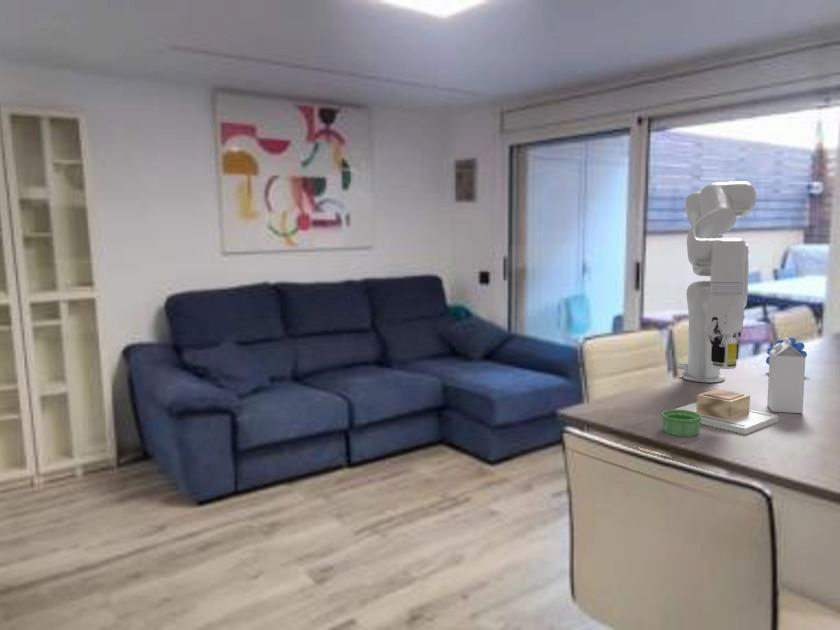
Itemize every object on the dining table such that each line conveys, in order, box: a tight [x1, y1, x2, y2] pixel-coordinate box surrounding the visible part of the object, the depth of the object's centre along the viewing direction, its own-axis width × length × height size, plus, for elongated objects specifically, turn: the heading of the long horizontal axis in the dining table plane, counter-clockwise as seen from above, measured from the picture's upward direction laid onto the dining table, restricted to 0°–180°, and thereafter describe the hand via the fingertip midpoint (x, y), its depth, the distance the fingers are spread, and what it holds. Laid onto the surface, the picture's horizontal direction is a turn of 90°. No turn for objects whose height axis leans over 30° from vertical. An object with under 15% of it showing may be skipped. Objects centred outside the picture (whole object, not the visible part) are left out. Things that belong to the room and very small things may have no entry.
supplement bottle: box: [713, 332, 737, 370], centre depth 161 cm, size 5×5×10 cm
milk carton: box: [767, 336, 806, 414], centre depth 169 cm, size 7×7×19 cm
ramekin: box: [660, 408, 702, 437], centre depth 154 cm, size 9×9×4 cm
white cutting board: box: [675, 401, 779, 435], centre depth 163 cm, size 20×16×2 cm
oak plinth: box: [696, 388, 751, 420], centre depth 163 cm, size 9×9×5 cm
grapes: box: [765, 337, 808, 366], centre depth 211 cm, size 12×7×12 cm, turn 60°
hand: (724, 359), depth 162 cm, fingers closed on supplement bottle, 5 cm apart
